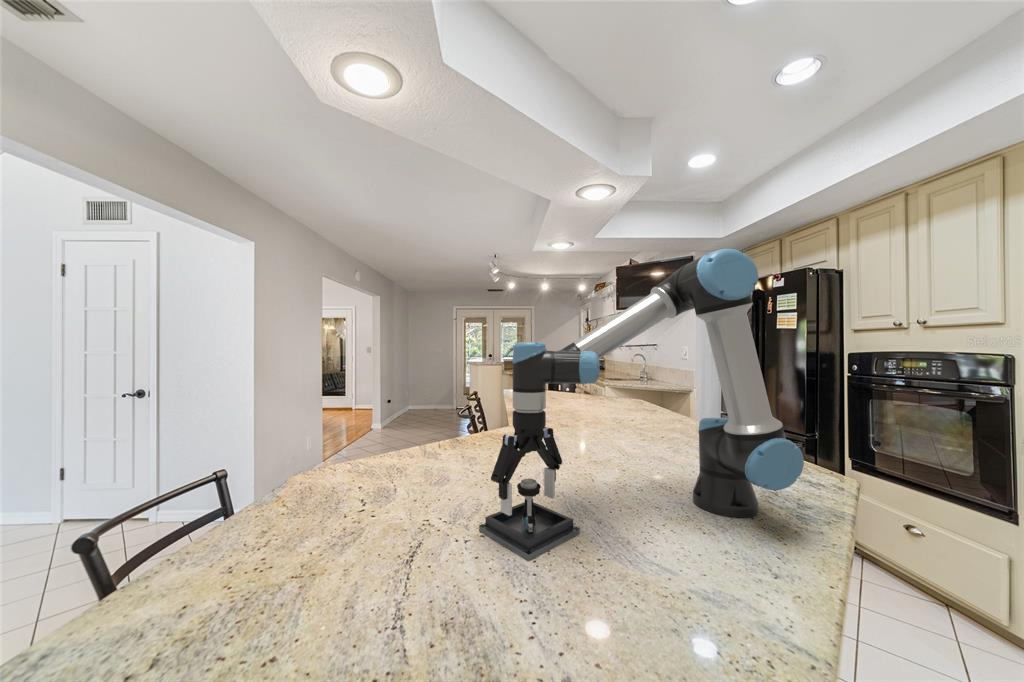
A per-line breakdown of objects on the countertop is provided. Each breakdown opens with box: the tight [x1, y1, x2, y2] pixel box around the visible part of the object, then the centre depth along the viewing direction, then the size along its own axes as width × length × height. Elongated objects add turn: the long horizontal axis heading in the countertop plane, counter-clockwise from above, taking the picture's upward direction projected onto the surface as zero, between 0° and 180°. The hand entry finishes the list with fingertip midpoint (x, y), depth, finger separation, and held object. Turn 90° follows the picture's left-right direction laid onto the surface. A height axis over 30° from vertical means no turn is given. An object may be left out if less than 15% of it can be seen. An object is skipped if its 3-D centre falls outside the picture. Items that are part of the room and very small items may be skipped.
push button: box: [516, 478, 542, 532], centre depth 83 cm, size 7×5×10 cm
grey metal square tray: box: [478, 501, 581, 562], centre depth 83 cm, size 16×16×3 cm
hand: (529, 504), depth 83 cm, fingers open, 13 cm apart
